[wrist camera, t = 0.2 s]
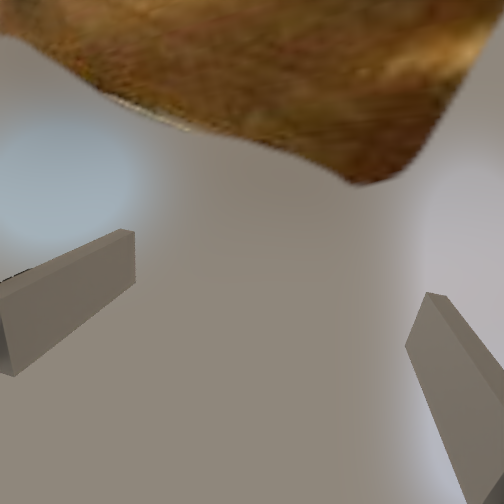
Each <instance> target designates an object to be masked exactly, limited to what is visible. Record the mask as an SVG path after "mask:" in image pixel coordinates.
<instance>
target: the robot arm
mask: <svg viewBox="0 0 504 504" xmlns="http://www.w3.org/2000/svg"><path fill="white" fill-rule="evenodd" d="M135 278H136V276H135V232H133V231H129V230H124V229H118V230H116V231H114V232H112V233H109V234H108V235H105V236H103V237H101V238H98V239H96V240H94V241H92V242H90V243H87V244H85V245H83V246H81V247H79V248H76V249H74V250H72V251H70V252H67V253H65V254H63V255H61V256H59V257H56V258H55V259H52V260H50V261H48V262H46V263H43V264H41V265H39V266H37V267H35V268H31V269H27V270H25V271H23V272H21V273H18V274H16V275H14V277H10V278H7V279H5V280H3V282H0V373H3V374H6V375H9V376H13V377H15V376H16V375H18V374H19V373H20V372H22V371H23V370H24V369H26V368H27V367H28V366H29V365H30V364H32V363H33V362H35V361H36V360H37V359H38V358H40V357H41V356H42V355H43V354H45V353H46V352H47V351H49V350H50V349H51V348H52V347H54V346H55V345H56V344H58V343H59V342H60V341H61V340H63V339H64V338H65V337H67V336H68V335H69V334H70V333H72V332H73V331H74V330H76V329H77V328H78V327H79V326H81V325H82V324H83V323H85V322H86V321H87V320H88V319H90V318H91V317H92V316H94V315H95V314H96V313H97V312H99V311H100V310H101V309H102V308H103V307H105V306H106V305H108V304H109V303H110V302H112V301H113V300H114V299H115V298H117V297H118V296H119V295H120V294H122V293H123V292H124V291H125V290H127V289H128V288H129V287H131V286H132V285H133V284H135V283H136V281H135ZM405 347H406V350H407V352H408V355H409V357H410V360H411V363H412V365H413V368H414V370H415V373H416V375H417V378H418V380H419V383H420V385H421V388H422V390H423V393H424V395H425V398H426V401H427V403H428V406H429V408H430V411H431V413H432V416H433V418H434V421H435V423H436V426H437V428H438V431H439V434H440V436H441V439H442V441H443V444H444V446H445V449H446V451H447V454H448V456H449V459H450V461H451V464H452V467H453V469H454V471H455V474H456V477H457V479H458V482H459V484H460V487H461V489H462V492H463V494H464V497H465V500H466V502H467V504H504V370H503V368H502V367H501V366H500V364H499V363H498V362H497V361H496V359H495V358H494V357H493V355H492V354H491V353H490V352H489V350H488V349H487V348H486V347H485V345H484V344H483V343H482V341H481V340H480V339H479V338H478V336H477V335H476V334H475V332H474V331H473V330H472V329H471V327H470V326H469V325H468V323H467V322H466V321H465V320H464V318H463V317H462V316H461V314H460V313H459V312H458V310H457V309H456V308H455V307H454V305H453V304H452V303H451V302H450V300H449V299H448V298H447V296H443V295H438V294H434V293H429V292H426V294H425V297H424V299H423V302H422V304H421V307H420V310H419V312H418V315H417V317H416V320H415V322H414V324H413V327H412V329H411V332H410V334H409V337H408V339H407V342H406V344H405Z"/></svg>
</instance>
